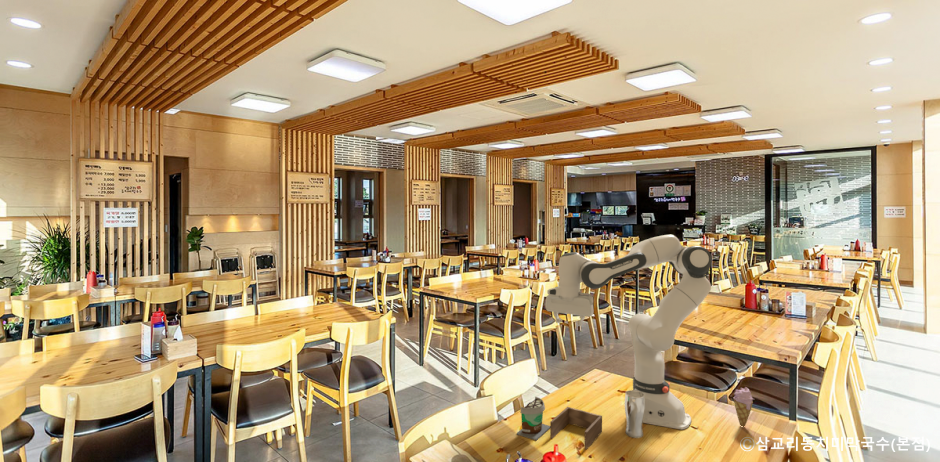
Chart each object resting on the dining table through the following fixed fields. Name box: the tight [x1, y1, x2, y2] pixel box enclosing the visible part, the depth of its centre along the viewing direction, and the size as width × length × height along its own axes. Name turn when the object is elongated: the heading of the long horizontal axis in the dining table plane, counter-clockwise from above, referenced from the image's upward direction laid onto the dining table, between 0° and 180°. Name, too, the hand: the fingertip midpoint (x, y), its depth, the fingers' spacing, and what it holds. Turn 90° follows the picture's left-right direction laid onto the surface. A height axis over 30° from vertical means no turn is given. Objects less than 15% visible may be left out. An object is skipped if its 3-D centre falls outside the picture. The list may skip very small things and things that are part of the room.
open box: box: [549, 406, 603, 450], centre depth 166 cm, size 14×15×6 cm
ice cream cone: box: [732, 386, 755, 428], centre depth 172 cm, size 7×6×15 cm
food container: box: [520, 396, 546, 434], centre depth 169 cm, size 12×6×10 cm, turn 145°
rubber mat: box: [516, 423, 550, 441], centre depth 169 cm, size 8×12×1 cm, turn 145°
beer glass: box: [624, 389, 645, 439], centre depth 167 cm, size 7×7×15 cm
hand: (568, 324), depth 191 cm, fingers open, 8 cm apart
